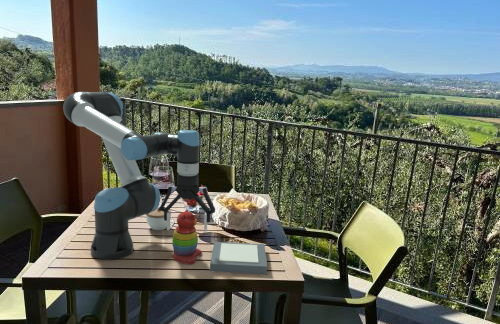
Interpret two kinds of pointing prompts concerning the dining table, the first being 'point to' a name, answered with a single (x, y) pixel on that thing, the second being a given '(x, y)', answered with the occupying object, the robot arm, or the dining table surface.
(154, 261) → the dining table surface
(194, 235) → the stacking bear
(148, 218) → the lidded jar
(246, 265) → the slate plinth
